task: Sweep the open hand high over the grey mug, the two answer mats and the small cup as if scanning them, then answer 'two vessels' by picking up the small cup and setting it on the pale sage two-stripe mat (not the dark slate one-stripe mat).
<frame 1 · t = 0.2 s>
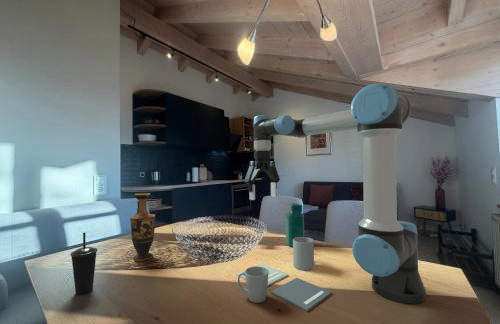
hand: (263, 198, 106), 28 cm above the table, fingers open, 13 cm apart
cup: (253, 298, 76), on the table
pad slate: (301, 293, 78), on the table
vase: (143, 258, 111), on the table
mug: (303, 265, 101), on the table
pad green: (262, 275, 91), on the table
drinking cup: (84, 292, 82), on the table
green bottle: (295, 245, 127), on the table
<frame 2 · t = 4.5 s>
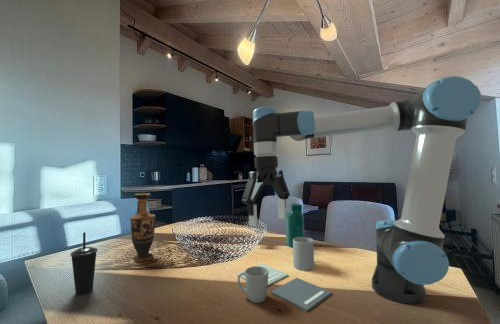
hand: (268, 222, 77), 24 cm above the table, fingers open, 13 cm apart
nothing on the table moved.
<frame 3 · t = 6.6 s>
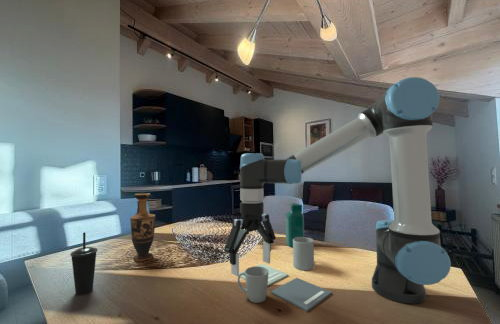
hand: (251, 268, 76), 9 cm above the table, fingers open, 13 cm apart
nothing on the table moved.
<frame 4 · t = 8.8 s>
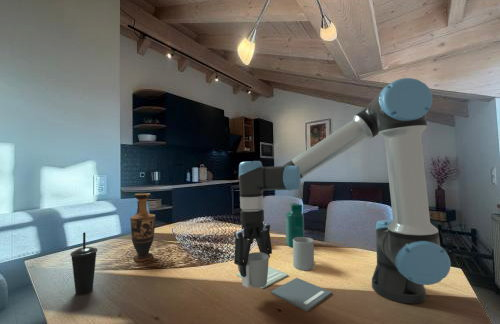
hand: (255, 281, 76), 5 cm above the table, fingers closed on cup, 7 cm apart
cup: (254, 283, 76), point 5 cm above the table, touching gripper
everything else where it was.
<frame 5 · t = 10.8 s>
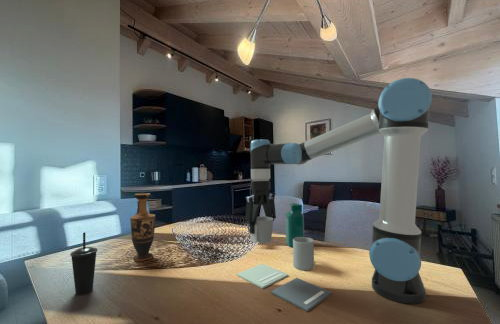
hand: (261, 239, 92), 14 cm above the table, fingers closed on cup, 7 cm apart
cup: (260, 241, 91), point 13 cm above the table, touching gripper
everything else where it was.
when the fingers open (1 cm above the table, at t = 13.2 s): cup stays where it is, resting on pad green.
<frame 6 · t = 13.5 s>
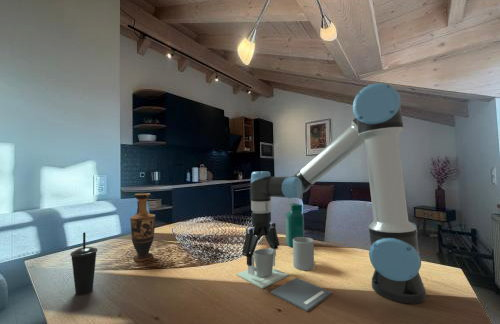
hand: (262, 269, 92), 2 cm above the table, fingers open, 10 cm apart
cup: (261, 274, 91), resting on pad green
everything else where it was.
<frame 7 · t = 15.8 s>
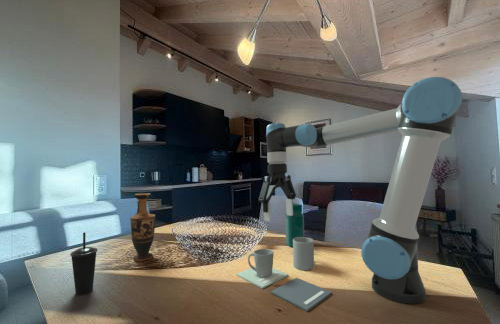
hand: (279, 218, 93), 22 cm above the table, fingers open, 13 cm apart
nothing on the table moved.
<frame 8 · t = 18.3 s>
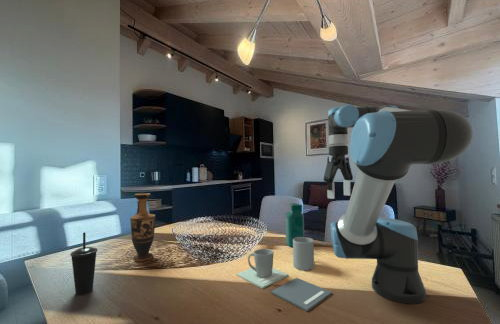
hand: (339, 196, 99), 29 cm above the table, fingers open, 13 cm apart
nothing on the table moved.
at the end: cup inside the target area on the pad green (0.5 cm from its centre), point 0.5 cm above the pad green's base; cup tilted 2°; the gripper is holding nothing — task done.
